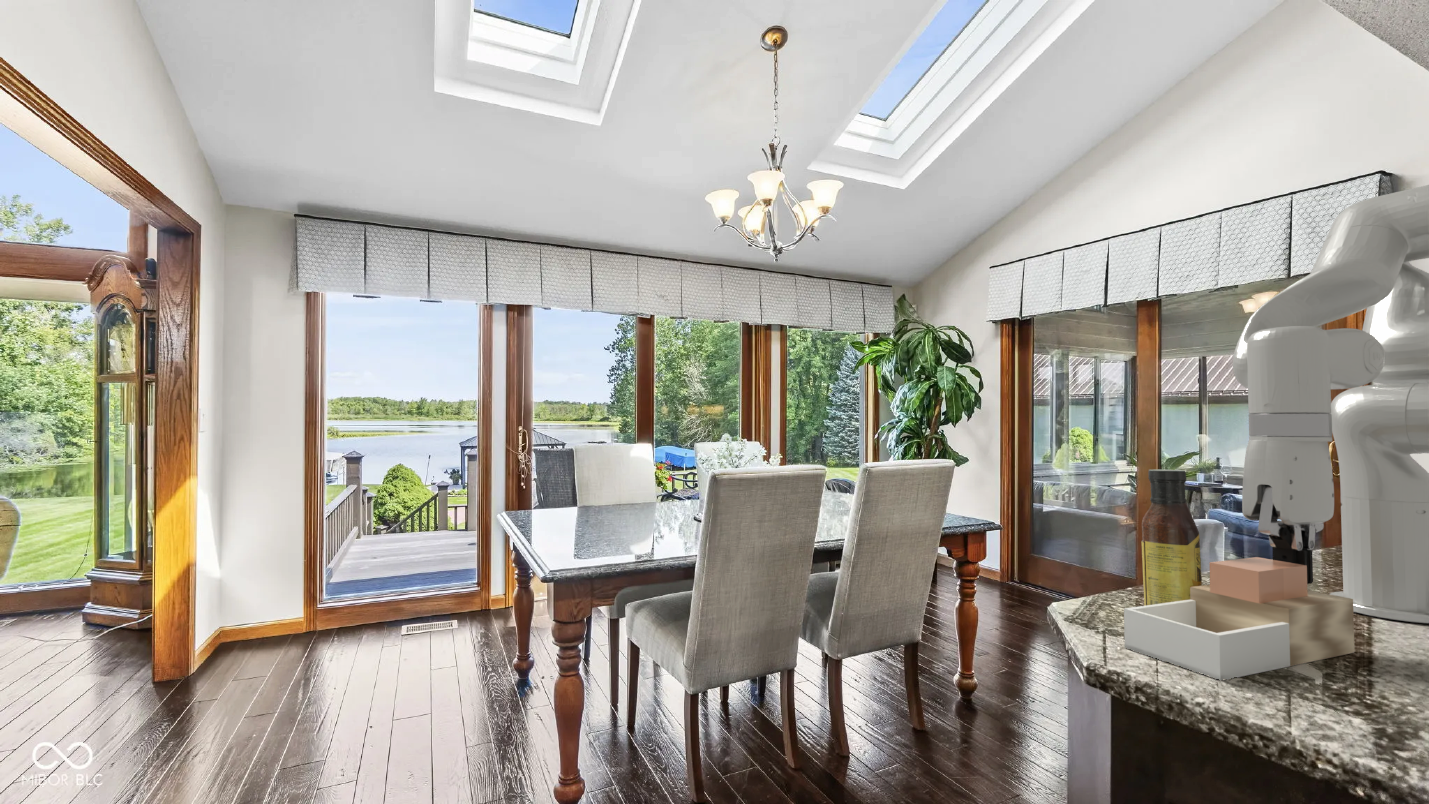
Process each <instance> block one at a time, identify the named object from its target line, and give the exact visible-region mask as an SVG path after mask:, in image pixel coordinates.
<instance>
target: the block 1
mask: <svg viewBox="0 0 1429 804" xmlns="http://www.w3.org/2000/svg"><path fill="white" fill-rule="evenodd" d="M1209 585H1210V592H1211V593H1215V594H1220V595H1224V596H1229V597H1233V598H1237V599H1242V600H1246V601H1250V602H1255V603H1266V602H1272V601H1279V600H1284V577H1283V568H1278V567H1272V566H1266V565H1261V564H1255V563H1250V562H1244V561H1238V560H1235V559H1228V560H1218V561H1211V562H1209Z"/></svg>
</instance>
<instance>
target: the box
mask: <svg viewBox="0 0 1429 804" xmlns="http://www.w3.org/2000/svg"><path fill="white" fill-rule="evenodd" d="M1123 619H1124V620H1123V622H1124V623H1123V625H1124V626H1123V634H1124V636H1123V637H1124V649H1126V648H1127V649H1126V650H1128V649H1131V650H1134V651H1136V652H1135V653H1137V652H1140V653H1142V654H1141V655H1143V654H1146V655H1148V656H1147V657H1149V656H1151V657H1150V658H1152V657H1153V659H1155V658H1157V659H1156V660H1158V659H1159V660H1158V661H1161V660H1162V661H1161V662H1164V661H1167V662H1170V663H1173V664H1175V665H1179V666H1181V667H1184V668H1187V669H1189V670H1188V671H1190V670H1193V671H1195V672H1194V673H1196V672H1200V673H1203V674H1204V675H1209V676H1210V677H1213V678H1216V679H1219V680H1223V679H1227V680H1231V679H1230V678H1232V679H1235V678H1234V677H1237V678H1242V677H1245V676H1246V677H1247V676H1249V675H1250V676H1251V675H1255V674H1259V673H1260V674H1261V673H1264V672H1268V671H1273V670H1279V669H1282V668H1284V669H1285V668H1288V667H1291V666H1290V639H1289V623H1285V622H1279V623H1273V624H1267V625H1261V626H1255V627H1249V628H1243V629H1237V630H1232V631H1226V632H1220V633H1215V632H1211V631H1208V630H1204V629H1201V628H1197V627H1196V601H1195V600H1191V599H1190V600H1183V601H1175V602H1168V603H1161V604H1154V605H1146V606H1144V605H1140V606H1133V607H1127V608H1126V607H1125V608H1123ZM1131 650H1130V651H1131ZM1134 651H1133V652H1134ZM1140 653H1139V654H1140ZM1146 655H1145V656H1146ZM1175 665H1174V666H1175ZM1181 667H1180V668H1181ZM1184 668H1183V669H1184ZM1187 669H1186V670H1187ZM1193 671H1192V672H1193ZM1204 675H1203V676H1204ZM1210 677H1209V678H1210ZM1213 678H1212V679H1213ZM1216 679H1215V680H1216ZM1219 680H1218V681H1219ZM1223 681H1224V680H1223Z"/></svg>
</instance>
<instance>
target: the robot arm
mask: <svg viewBox="0 0 1429 804" xmlns="http://www.w3.org/2000/svg"><path fill="white" fill-rule="evenodd" d="M1426 259H1429V184H1427V185H1422V186H1419V187H1413V188H1409V189H1405V190H1400V191H1395V192H1390V193H1386V194H1383V195H1379V196H1375V197H1374V196H1373V197H1371V198H1367V199H1364V200H1360V201H1358V202H1355V203H1354V204H1351V205H1349V206H1348V207H1346V208H1344V210H1342V211H1341V212H1340V213H1339V214H1337V216H1336V218H1335V219H1334V221H1333V223H1332V224H1331V227H1330V229H1329V231H1328V233H1327V235H1326V238H1325V240H1324V242H1323V245H1322V247H1321V249H1320V251H1319V253H1318V256H1317V258H1316V260H1315V261H1314V262H1315V263H1314V264H1313V267H1312V269H1311V272H1310V273H1309V274H1307V275H1306V276H1303V277H1302V278H1300V279H1299V280H1297V281H1295V282H1294V283H1292V284H1291V285H1289V286H1288V287H1286V288H1285V289H1283V290H1282V291H1280V292H1279V293H1277V294H1276V295H1274V296H1273V297H1272V298H1270V299H1268V300H1267V301H1265V302H1264V303H1263V304H1262V305H1261V306H1260V307H1259V308H1257V309H1256V310H1255V311H1254V312H1253V313H1252V314H1251V315H1250V317H1249V319H1248V320H1247V322H1246V324H1245V326H1244V327H1243V330H1242V332H1241V334H1240V337H1239V339H1238V340H1237V343H1236V346H1235V349H1234V352H1233V355H1232V356H1233V357H1232V371H1233V376H1234V378H1235V380H1236V381H1237V383H1239V384H1240V385H1241V386H1242V387H1244V388H1246V389H1247V397H1248V399H1247V401H1248V402H1247V403H1248V406H1247V407H1248V410H1247V411H1248V441H1247V445H1246V446H1247V447H1246V451H1245V457H1244V461H1243V462H1244V465H1243V474H1242V494H1241V496H1242V497H1241V501H1242V502H1241V504H1242V506H1241V508H1242V510H1241V511H1242V515H1243V516H1244V518H1245V519H1247V520H1249V521H1258V526H1257V529H1258V533H1261V534H1263V535H1268V540H1269V545H1270V547H1271V549H1272V560H1277V561H1283V562H1289V563H1295V564H1301V565H1307V585H1309V584H1312V583H1314V572H1313V571H1314V569H1313V568H1314V566H1313V565H1314V564H1313V550H1314V548H1315V544H1316V543H1315V542H1316V539H1315V538H1316V533H1318V532H1321V531H1322V530H1323V529H1324V527H1325V526H1324V523H1326V522H1328V521H1329V520H1331V519H1332V518H1333V516H1334V512H1335V486H1334V485H1335V484H1334V476H1333V475H1334V474H1333V466H1332V465H1333V464H1332V459H1331V453H1330V448H1329V442H1331V443H1332V442H1333V440H1334V444H1335V448H1336V454H1337V459H1338V467H1339V482H1340V515H1341V517H1340V519H1341V521H1340V522H1341V523H1340V524H1341V554H1342V555H1341V556H1342V559H1341V560H1342V583H1343V584H1342V585H1343V586H1342V588H1343V589H1342V590H1343V591H1334V592H1330V593H1329V594H1330V595H1335V596H1340V597H1345V598H1350V599H1353V613H1358V614H1362V615H1367V616H1370V617H1375V618H1376V617H1377V618H1381V619H1388V620H1393V621H1400V622H1401V621H1402V622H1410V623H1417V624H1418V623H1419V624H1427V625H1428V624H1429V472H1428V471H1427V470H1426V469H1425V468H1424V467H1423V466H1422V465H1421V464H1419V462H1417V460H1415V459H1414V458H1413V456H1411V455H1412V454H1415V455H1416V454H1417V455H1418V454H1429V272H1427V271H1426V270H1423V269H1420V268H1418V267H1416V266H1414V265H1412V263H1410V262H1411V261H1418V260H1426ZM1364 310H1366V311H1365V315H1364V321H1363V325H1362V330H1361V329H1359V328H1349V327H1348V328H1347V327H1345V328H1344V327H1343V328H1332V329H1331V328H1330V329H1323V328H1321V327H1319V326H1323V325H1326V324H1329V323H1332V322H1334V321H1336V320H1340V319H1343V318H1344V319H1345V318H1346V317H1348V316H1351V315H1354V314H1356V313H1359V312H1362V311H1364ZM1371 382H1372V383H1375V384H1370V383H1371ZM1331 390H1344V391H1342V392H1340V393H1338V394H1337V395H1336V396H1335V397H1334V398H1333V400H1332V397H1331V396H1332V394H1331V393H1332V391H1331Z"/></svg>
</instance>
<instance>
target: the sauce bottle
mask: <svg viewBox="0 0 1429 804" xmlns="http://www.w3.org/2000/svg"><path fill="white" fill-rule="evenodd" d="M1186 472H1187V471H1185V470H1184V469H1161V468H1160V469H1148V480H1149V482H1150V499H1149V500H1150V503H1151V504H1150V506H1149V508H1148V509H1147V511H1146V512H1145V514H1144V515H1143V517H1142V520H1141V533H1142V534H1141V537H1142V540H1141V558H1142V560H1141V561H1142V580H1143V581H1142V583H1143V603H1144V605H1143V606H1146V605H1154V604H1161V603H1168V602H1175V601H1183V600H1190V587H1194V586H1202V585H1203V584H1202V582H1203V578H1202V577H1203V576H1202V575H1203V574H1202V562H1201V561H1202V558H1201V544H1200V543H1201V540H1200V538H1201V537H1200V532H1199V529H1198V527H1197V524H1196V522H1195V520H1194V517H1193V515H1192V513H1191V510H1190V507H1189V506H1188V503H1187V499H1186V486H1185V485H1186V484H1185V483H1186V482H1187V475H1186Z"/></svg>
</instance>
